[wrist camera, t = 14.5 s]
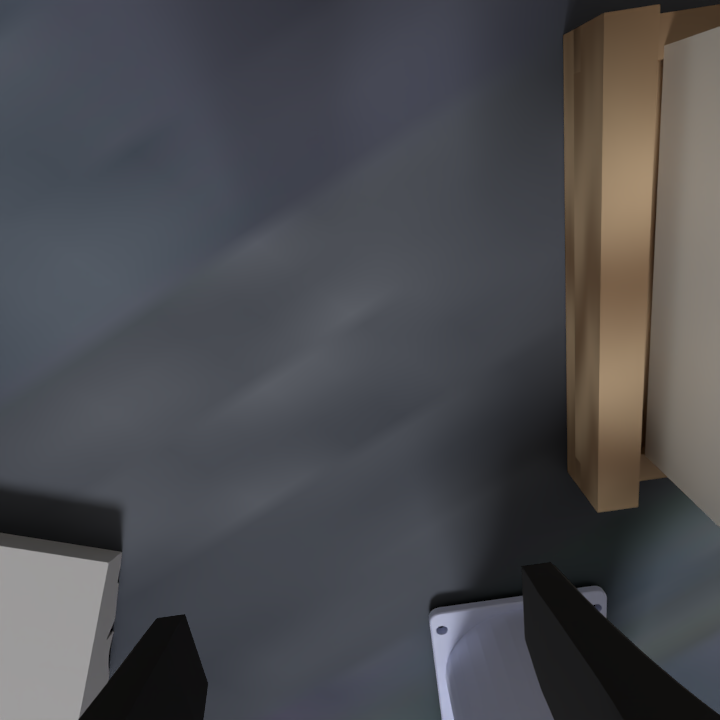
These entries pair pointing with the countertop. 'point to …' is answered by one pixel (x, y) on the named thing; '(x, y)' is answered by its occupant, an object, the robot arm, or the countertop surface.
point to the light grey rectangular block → (687, 276)
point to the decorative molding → (54, 626)
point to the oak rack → (613, 239)
